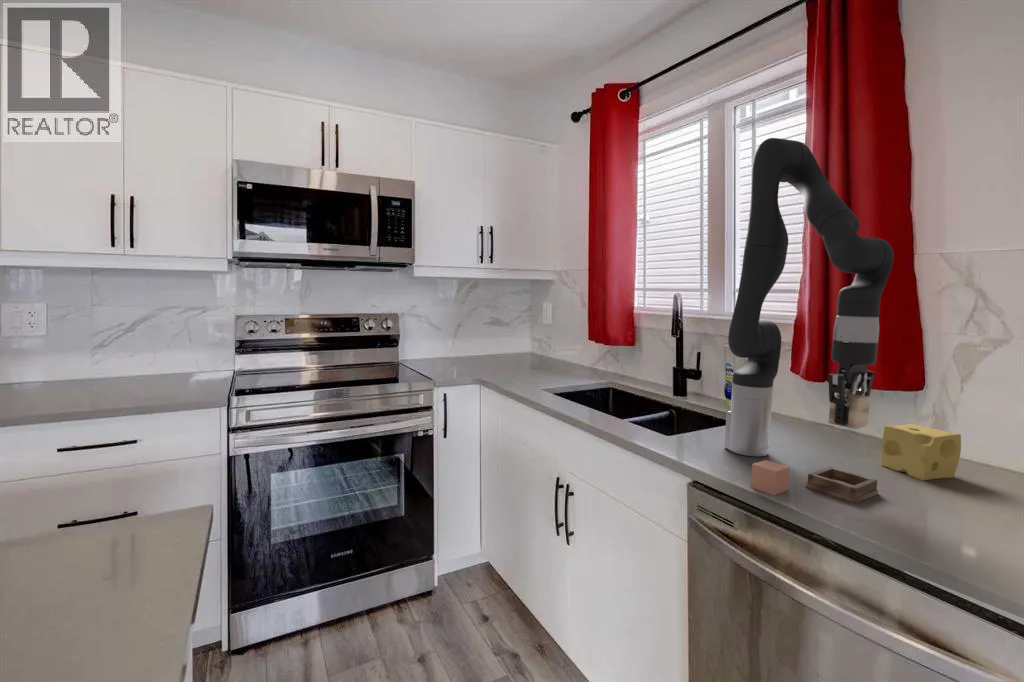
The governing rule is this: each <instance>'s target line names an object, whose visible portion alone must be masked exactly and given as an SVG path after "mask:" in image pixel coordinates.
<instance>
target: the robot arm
mask: <svg viewBox="0 0 1024 682" xmlns="http://www.w3.org/2000/svg"><path fill="white" fill-rule="evenodd" d="M780 183H788V184H789V185H790V186H791V187H793V188H794V189H796V190H797V191H798V192H799V194H800V195H801V196H802V199H803V209H804V210H803V211H804V214H805V216H806V218H807V221H808V222H809V223H810V225H811V226H812V227H813V229H814V230H815V232H817V234H818V235H819V236H820V237H821V239H822V240H823V244H824V247H825V250H826V252H827V256H828V257H829V261H830V262H831V263H832V265H833V266H834V267H836V268H837V269H838V270H839V271H841V272H843V273H846V274H855V276H854V278H853V281H852V282H851V284H850V285H848V286H845V287H842V288H841V289H840V290H839V292H838V295H837V302H836V303H837V304H836V314H835V315H836V316H835V322H834V324H833V325H834V326H833V332H832V333H833V334H832V346H831V354H830V355H831V356H830V357H831V360H832V361H833V362H835V363H838V366H837V367H838V368H837V370H836V373H835V374H834V373H829V374H828V400H829V403H830V402H831V403H834V404H835V405H836V408H835V419H834V422H835V423H836V424H840V425H847V424H848V415H849V405H850V399H851V397H852V396H854V395H855V394H857V395H863V396H869V397H870V398H871V396H870V395H871V391H872V386H873V381H874V377H875V371H873V370H868V368H867V366H868V365H869V366H870V365H871V366H872V365H875V364H876V363H877V358H878V349H879V348H878V347H879V337H880V318H879V317H880V311H881V310H880V309H881V297H882V294H883V292H884V289H885V288H886V284H887V282H888V279H889V278H890V274H891V271H892V269H893V266H894V265H893V264H894V261H895V258H894V255H895V254H894V249H893V247H892V245H891V244H890V243H889V242H888V241H887V240H885V239H883V238H877V237H862V236H861V235H859V234H858V232H859V230H860V227H861V223H860V220H859V218H858V217H857V215H856V214H855V213H854V212H853V211H852V210H851V209H850V208H849V206H848V205H847V203H845V202H844V201H843V199H841V197H840V195H838V194H837V192H836V191H835V190H834V189H833V187H832V185H831V184H830V182H829V181H828V179H827V177H826V175H825V174H824V172H823V171H822V169H821V167H820V165H819V163H818V162H817V160H816V158H815V156H814V154H813V152H812V151H811V149H810V147H808V146H807V145H806V143H804V142H801V141H798V140H794V139H793V140H792V139H785V138H778V137H777V138H776V137H770V138H767V139H765V140H763V141H762V142H761V143H760V145H759V146H758V147H757V149H756V151H755V153H754V157H753V161H752V169H751V191H750V192H751V193H750V207H749V208H750V209H749V216H748V227H747V231H746V237H745V244H744V245H745V246H744V251H743V256H742V258H743V259H742V264H741V265H742V267H741V274H740V280H739V286H738V292H737V297H736V302H735V306H734V309H733V313H732V317H731V321H730V325H729V330H728V335H727V337H728V340H727V342H728V343H727V344H728V347H729V350H730V351H731V354H733V355H734V357H737V358H747V360H746V363H744V364H743V365H742V366H741V367H740V368H738V369H736V370H734V372H733V374H732V380H731V381H732V386H731V397H730V398H731V399H730V410H728V411H726V419H725V431H724V432H725V433H724V449H728V450H729V451H730V452H732V453H734V454H736V455H737V454H738V455H742V456H748V457H765V456H767V455H768V452H769V443H770V442H769V441H770V430H771V417H772V416H771V415H772V405H773V404H772V403H773V391H774V389H773V388H774V381H775V378H776V377H777V375H778V373H779V365H780V360H781V359H780V358H781V351H782V350H781V349H782V333H781V330H780V328H779V327H778V325H777V324H776V323H775V322H773V321H771V320H764V319H763V320H760V317H761V312H762V307H763V304H764V302H765V300H766V298H767V295H768V294H769V292H770V291H771V290H772V288H773V287H774V285H775V284H776V282H777V281H778V279H780V276H781V275H782V273H783V271H784V269H785V266H786V260H787V255H788V253H787V252H788V248H789V236H788V235H789V234H788V231H787V227H786V224H785V222H784V219H783V217H782V214H781V211H780V205H779V189H780V188H779V187H780ZM835 393H836V394H835ZM845 395H846V399H845Z"/></svg>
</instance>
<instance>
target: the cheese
mask: <svg viewBox="0 0 1024 682" xmlns="http://www.w3.org/2000/svg"><path fill="white" fill-rule="evenodd" d="M881 441H882V443H881V450H880V451H881V452H880V465H881V466H882V467H884V466H885V467H884V468H887V467H888V468H887V469H891V470H893V471H897V472H901V473H906V474H907V475H908V476H910V477H912V478H915V479H918V480H920V481H928V480H936V479H948V478H949V479H950V478H951V479H952V478H955V474H956V472H957V469H958V464H959V462H960V457H961V451H962V435H961V434H960V433H956V432H952V431H951V432H950V431H946V430H941V429H935V428H932V427H927V426H924V425H919V424H916V423H908V424H898V425H896V424H895V425H884V428H883V433H882V440H881Z"/></svg>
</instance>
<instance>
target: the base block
mask: <svg viewBox="0 0 1024 682" xmlns="http://www.w3.org/2000/svg"><path fill="white" fill-rule="evenodd" d="M835 394H836V393H835ZM845 399H846V395H845ZM870 403H871V396H870V397H869V396H863V395H857V394H855V395H854V396H852V397H851V399H850V405H849V415H848V424H847V425H840V424H836V423H835V422H834V419H835V408H836V405H835V404H834V403H831V402H830V401H829V412H828V413H829V414H828V424H829V425H834V426H835V425H836V426H839V427H845V428H849V429H853V430H857V429H861V428H864V427H868V422H869V413H870V412H869V411H870Z"/></svg>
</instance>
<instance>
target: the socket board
mask: <svg viewBox="0 0 1024 682" xmlns="http://www.w3.org/2000/svg"><path fill="white" fill-rule="evenodd" d="M805 487H806V488H808V489H811V490H813V491H816V492H817V491H818V492H820V493H824V494H826V495H829V496H832V497H835V498H838V497H839V499H841V498H842V499H841V500H844V499H845V500H844V501H848V502H850V503H853V504H857V503H860V502H863V501H864V500H867V499H870V498H871V497H875V496H877V495H878V494H879V489H878V479H875V478H872V477H868V476H865V475H861V474H857V473H854V472H851V471H846V470H843V469H840V468H837V467H832V466H828V467H826V468H822V469H820V470H816V471H814V472H810V473H808V475H807V482H805Z"/></svg>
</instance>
